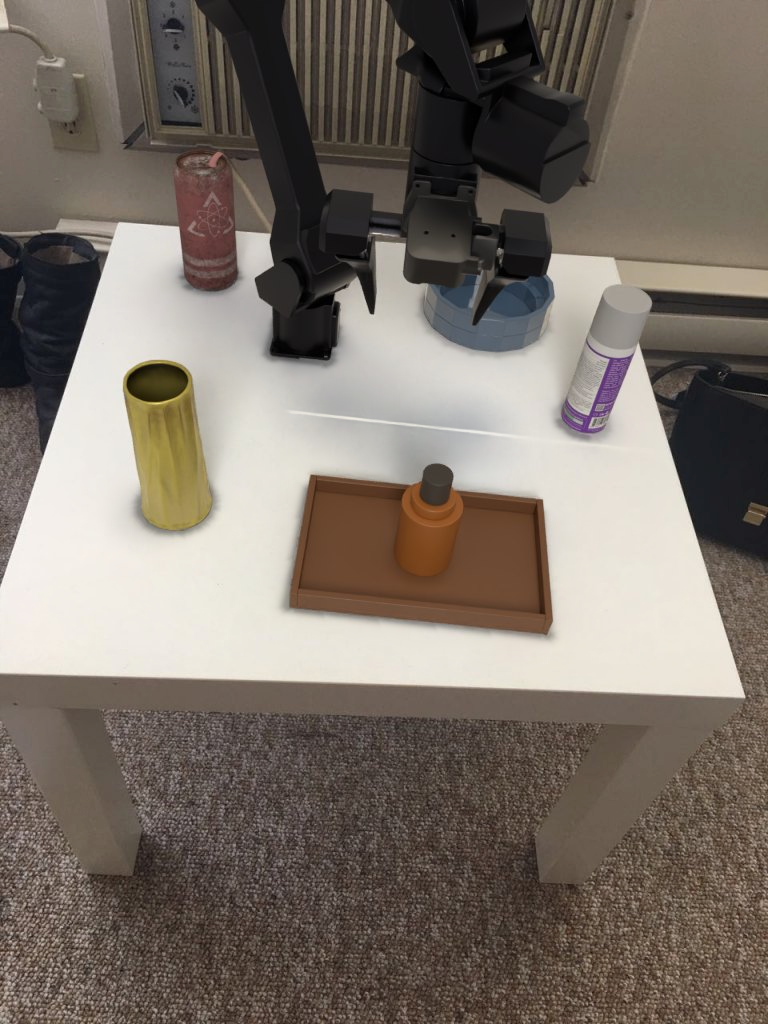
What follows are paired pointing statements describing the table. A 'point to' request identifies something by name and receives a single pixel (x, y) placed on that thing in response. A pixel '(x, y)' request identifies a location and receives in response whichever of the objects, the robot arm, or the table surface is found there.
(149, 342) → the table surface
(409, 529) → the bottle
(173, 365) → the vase
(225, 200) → the can
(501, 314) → the bowl
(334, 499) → the tray
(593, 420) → the container
